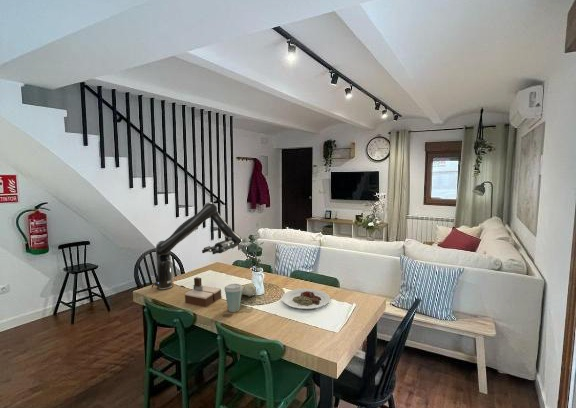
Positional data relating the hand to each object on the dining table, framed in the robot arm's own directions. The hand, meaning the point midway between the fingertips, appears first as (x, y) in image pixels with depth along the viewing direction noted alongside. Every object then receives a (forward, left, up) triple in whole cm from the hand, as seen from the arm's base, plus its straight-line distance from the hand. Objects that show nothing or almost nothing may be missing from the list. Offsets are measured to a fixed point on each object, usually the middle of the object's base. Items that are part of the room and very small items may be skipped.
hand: (207, 252), depth 208 cm
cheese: (+29, -1, -28) cm, 40 cm away
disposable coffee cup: (+23, -25, -28) cm, 44 cm away
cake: (0, -12, -28) cm, 30 cm away
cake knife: (-4, -11, -28) cm, 30 cm away
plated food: (+65, -11, -28) cm, 72 cm away
